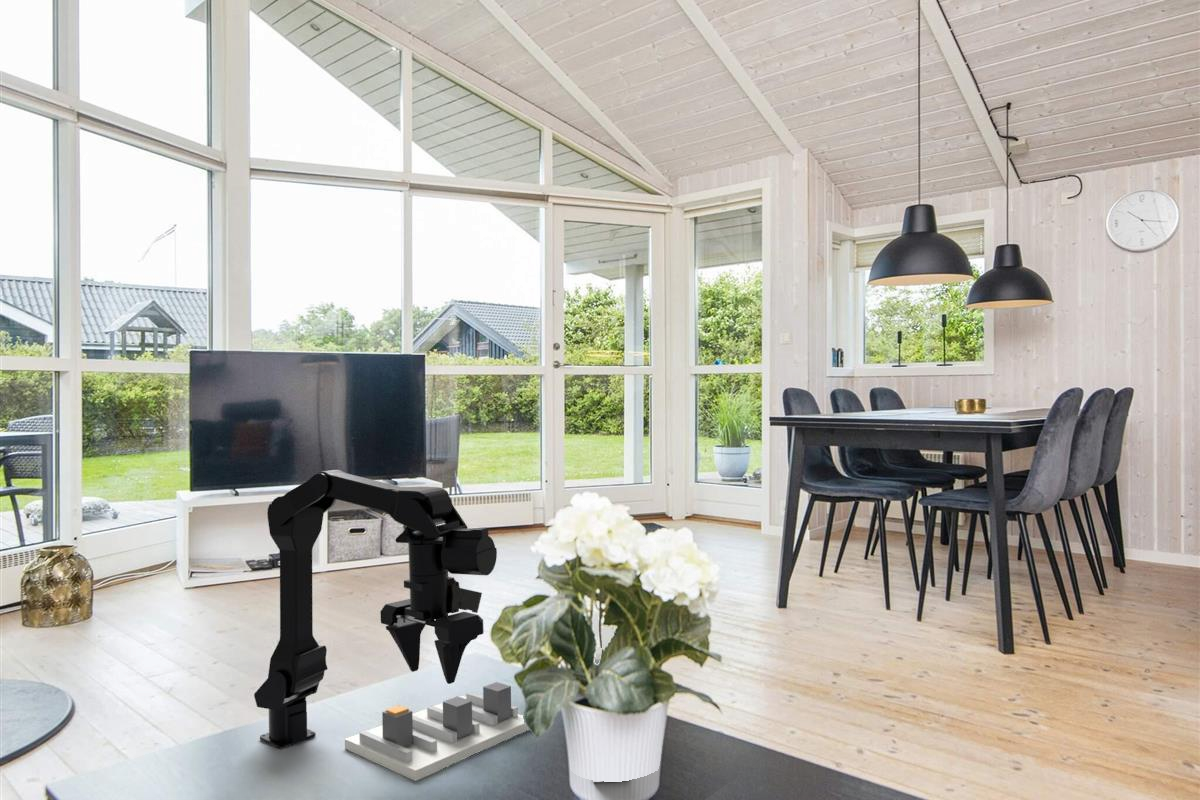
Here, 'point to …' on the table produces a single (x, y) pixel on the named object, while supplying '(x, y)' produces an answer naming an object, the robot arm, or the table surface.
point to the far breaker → (497, 700)
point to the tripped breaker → (398, 725)
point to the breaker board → (436, 740)
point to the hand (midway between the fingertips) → (432, 676)
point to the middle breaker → (458, 716)
